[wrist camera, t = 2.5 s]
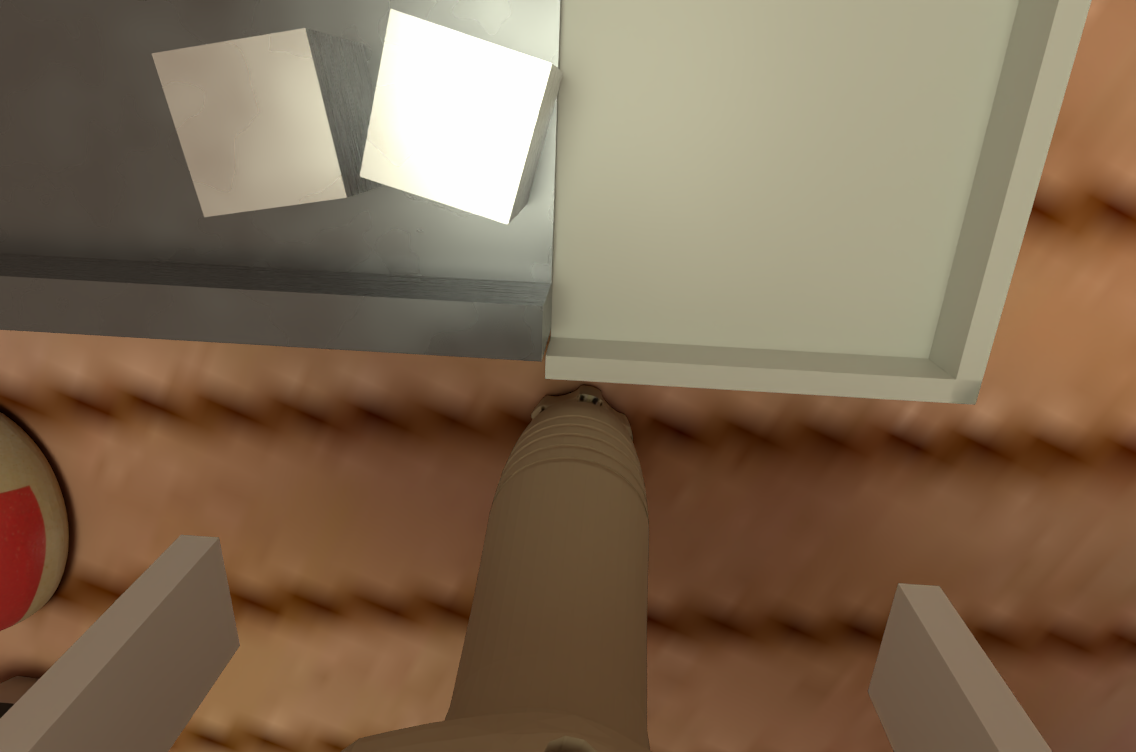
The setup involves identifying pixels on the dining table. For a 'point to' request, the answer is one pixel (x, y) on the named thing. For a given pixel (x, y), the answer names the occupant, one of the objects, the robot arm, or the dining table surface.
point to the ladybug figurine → (28, 526)
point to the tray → (798, 189)
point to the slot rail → (253, 238)
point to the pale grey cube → (458, 118)
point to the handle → (555, 598)
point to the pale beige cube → (270, 118)
